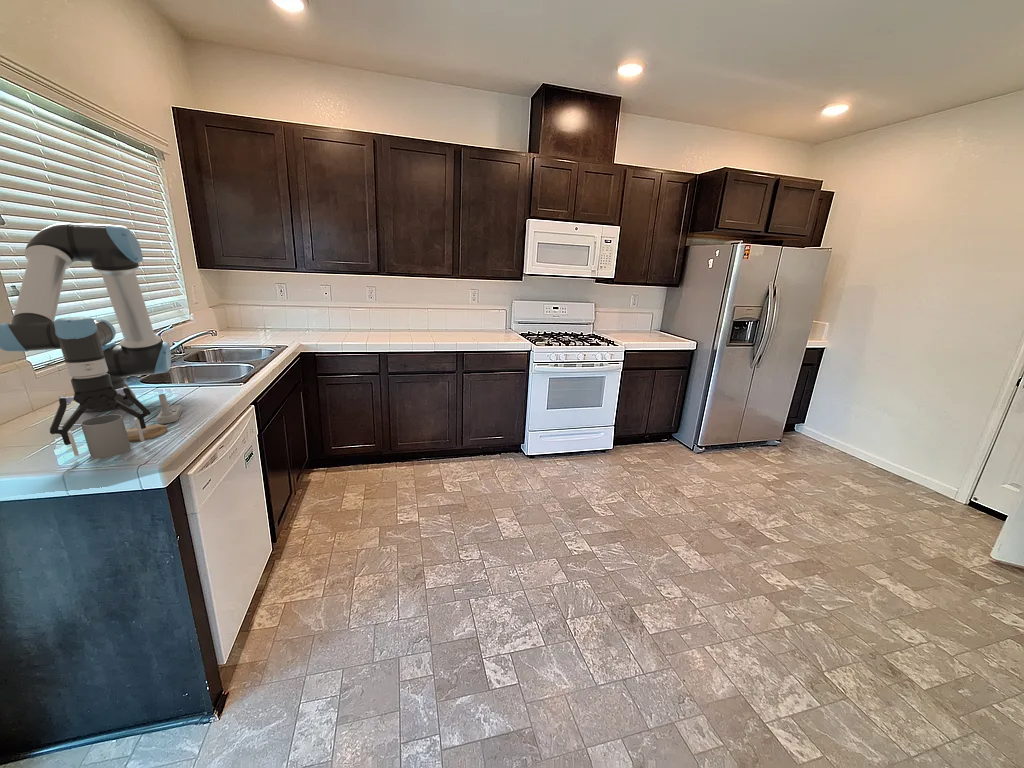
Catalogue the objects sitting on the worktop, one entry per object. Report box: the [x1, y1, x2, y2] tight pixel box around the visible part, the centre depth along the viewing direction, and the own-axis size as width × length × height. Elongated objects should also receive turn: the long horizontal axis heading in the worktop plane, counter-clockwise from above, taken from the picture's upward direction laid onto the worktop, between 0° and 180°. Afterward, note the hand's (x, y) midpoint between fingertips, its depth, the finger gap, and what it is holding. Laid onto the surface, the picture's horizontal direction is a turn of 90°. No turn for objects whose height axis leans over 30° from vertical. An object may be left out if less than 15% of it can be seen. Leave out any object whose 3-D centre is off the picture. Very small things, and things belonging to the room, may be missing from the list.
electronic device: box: [156, 393, 183, 425], centre depth 142 cm, size 5×10×15 cm
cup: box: [80, 413, 132, 460], centre depth 116 cm, size 8×8×10 cm
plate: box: [126, 423, 168, 443], centre depth 129 cm, size 12×12×1 cm
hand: (110, 446), depth 117 cm, fingers open, 13 cm apart
